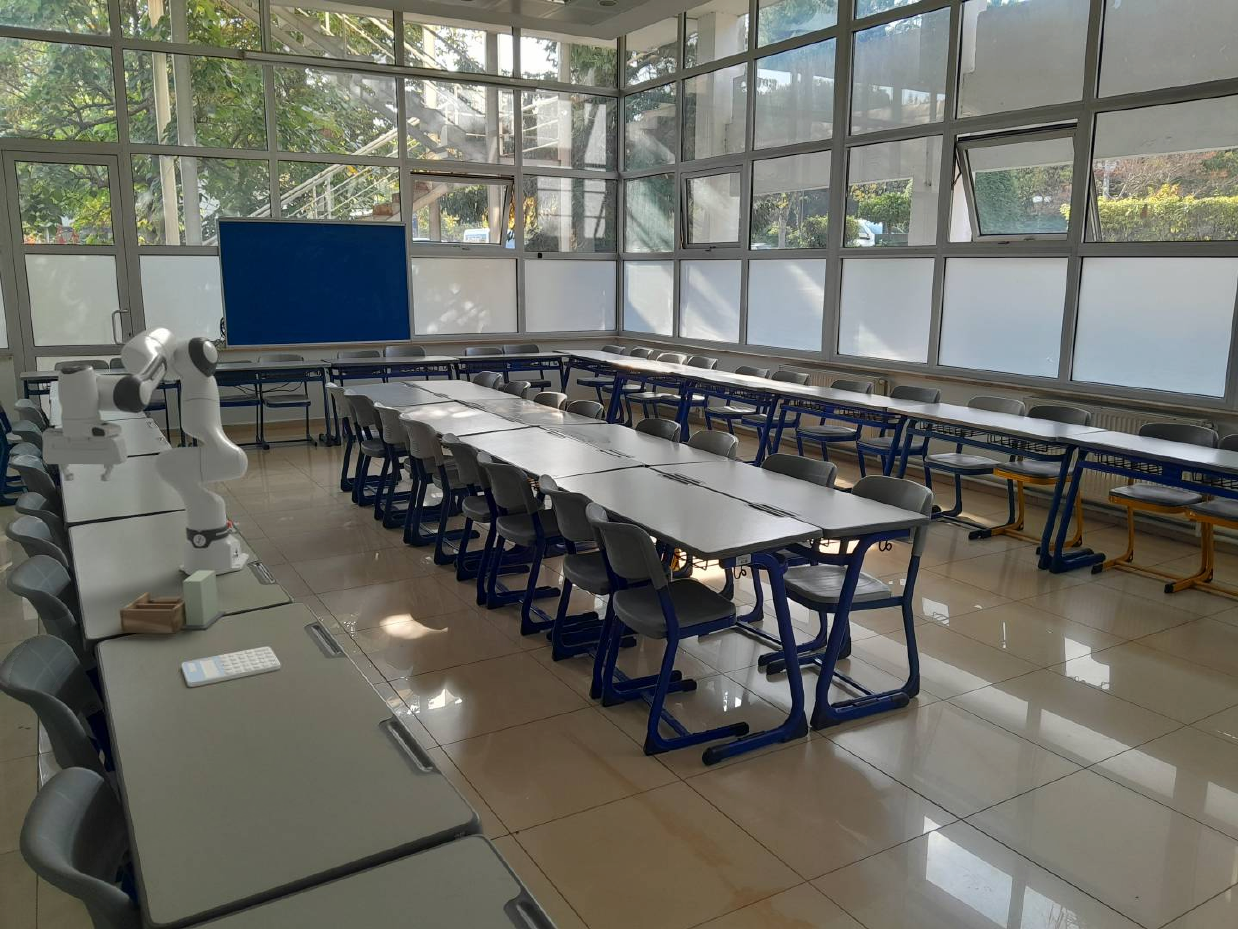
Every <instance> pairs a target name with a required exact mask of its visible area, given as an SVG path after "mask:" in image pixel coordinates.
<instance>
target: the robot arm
mask: <svg viewBox="0 0 1238 929" xmlns="http://www.w3.org/2000/svg"><path fill="white" fill-rule="evenodd" d="M219 358H220V357H219V351H218V349H217V346H216V345H215V344H214V342H213V341H211V340H210V339H209V338H207V337H203V336H201V337H199V336H198V337H197V336H196V337H193V338H190V339H183V340H178V341H177V338H176V336H175V334H174V333H173V332H171V331H170V330H169V329H167V328H165V327H162V326H154V327H151V328H148V329H145V330H143V331H142V332H139V333H138V334H136V335H135V336H134V337H132V338H131V339H129V340H128V341H127V342H126V343H125V344H124V345H123V347H122V349H121V351H120V359H121V362H122V365H123V367H124V369H125V370H126V371H127V372H128V373H129V374H128V375H127V374H126V375H125V374H124V375H121V374H120V375H119V374H118V375H117V374H116V375H114V374H113V375H112V374H111V375H110V374H109V375H108V374H101V373H98V372H96V371H94V368H93V366H92V365H90V364H85V363H78V364H75V363H74V364H70V365H66V366H64V367H62V368H60V369H59V372H58V376H57V391H58V392H57V394H58V401H59V404H60V407H61V414H60V420H61V427H57V428H53V427H47V428H46V429H45V430H44V431H43V432H42V434H41V438H42V439H41V440H42V460H43V462H44V463H45V465H58V469H59V471H60V472H61V473H62V474H63V476H64V478H63V480H64V481H65V482H72V481H74V480H75V477H74V475H75V474H74V472H73V473H72V472H71V471H70V470H69V469H68V467H69V465H103V469H105V471H104V473H103V474H100V480H101V482H109V481H111V473H112V471H113V469H114V465H121V464H124V463H125V462H126V461H127V459H128V451H127V450H128V449H127V445H126V442H125V441H126V440H125V438H124V437H123V436H122V435H121V434H122V432H123V428H122V426H121V425H119V424H116V423H113V422H109V421H106V420H104V419H102V416H101V413H100V412H122V413H133V414H139V413H142V412H143V411H144V410H145V409H146V408H148V406H149V405H150V403H151V401H152V397H153V395H154V392H155V391H156V390H157V388H158V387H159V386H160V384H161V383H170V382H172V381H178V380H180V382H181V385H182V386H181V394H180V417H181V418H180V421H181V422H180V423H181V428H182V430H183V432H184V433H185V434H187V435H188V436H189V437H191V438H194V439H197V440H199V441H201V442H203V443H204V444H203V445H201V446H184V447H183V446H181V447H175V448H169V449H165V450H161V452H159V453H158V455H157V456H156V458H155V461H154V469H155V473H156V475H157V477H158V478H159V479H160V480H161V481H162V482H163V483H165V484H167V485H168V486H170V487H171V488H172V489H174V490H175V491H176V492H177V494H178V495H179V496H180V498H181V500H182V502H183V506H184V510H185V517H186V518H185V519H186V524H187V525H186V527H185V535H186V540H187V541H186V542H184V543H183V545H182V546H183V549H182V552H183V553H182V554H183V555H182V556H183V557H182V558H183V559H182V560H183V561H182V562H183V563H182V565H179V570H180V571H182V572H184V573H185V574H187V575H188V576H191V575H192V574H194V573H195V572H197V571H198V570H210V571H215V574H216V575H217V576H218V575H222V574H225V573H230V572H236V571H241V570H242V569H243V567H244V566H245V564H246V562H247V561H248V560H249V558H250V556H249V555H250V554H249V553H245V552H242V550H241V542H240V541H239V540H238V539H237V538H235V537H234V536H233V535H231V530H230V528H231V529H232V527H233V523H232V521H227V516H226V514H227V513H226V512H227V511H226V503H225V501H224V499H223V498H222V497H221V496H220V495H219V494H217V493H214V492H212V491H209V490H207V489H205V488H204V487H203V485H202V484H203V483H214V482H227V481H232V480H235V479H240V478H242V477H243V476H244V475H245V473H246V472H247V470H248V466H249V459H248V456H247V454H246V452H245V451H244V449H242V448H241V447H239V446H238V445H237V444H234V442H232V441H231V440H230V439H229V438H228V437H227V435H226V434H225V432H224V430H223V426H222V418H221V407H220V406H221V404H220V393H219V389H218V388H219V387H218V384H217V381H216V378H215V376H214V375H215V373H216V370H217V366H218V362H219Z"/></svg>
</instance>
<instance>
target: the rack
mask: <svg viewBox="0 0 1238 929" xmlns="http://www.w3.org/2000/svg"><path fill="white" fill-rule="evenodd" d="M155 599H156V598H155ZM155 599H154V598H151V592H150V591H147V592H145V593H143V594H142V595H140V596H138V597H137V598H136V599H134V600H133V601H131V602H130V603H128V604H127V605H126V606H124V607H122V608H120V609H119V618H120V619H119V620H120V628H121V633H127V634H128V633H129V634H130V633H131V634H132V633H133V634H138V633H139V634H141V633H142V634H169V633H170V634H176V633H177V632H178V631H180V630H181V629H180V627H181V626H182V625H183V624H185V623H186V612H185V600H184V599H182V598H181V601H182V602H181V603H180V604H153V601H154V600H155Z"/></svg>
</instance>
